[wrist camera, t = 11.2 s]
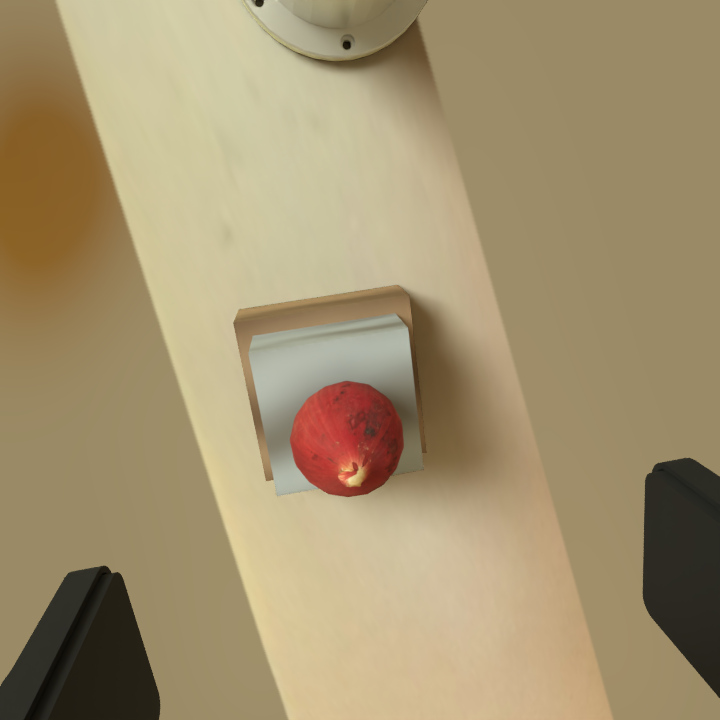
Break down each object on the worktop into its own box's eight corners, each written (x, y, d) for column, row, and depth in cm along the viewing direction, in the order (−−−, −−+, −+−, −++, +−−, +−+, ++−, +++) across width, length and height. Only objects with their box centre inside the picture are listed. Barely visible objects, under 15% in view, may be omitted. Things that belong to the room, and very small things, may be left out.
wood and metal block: (239, 309, 38) (226, 339, 31) (397, 284, 39) (423, 308, 32) (268, 454, 42) (263, 513, 34) (414, 429, 43) (441, 481, 35)
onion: (329, 344, 32) (342, 393, 24) (410, 397, 33) (446, 460, 26) (271, 425, 33) (266, 497, 25) (352, 473, 34) (370, 555, 27)
